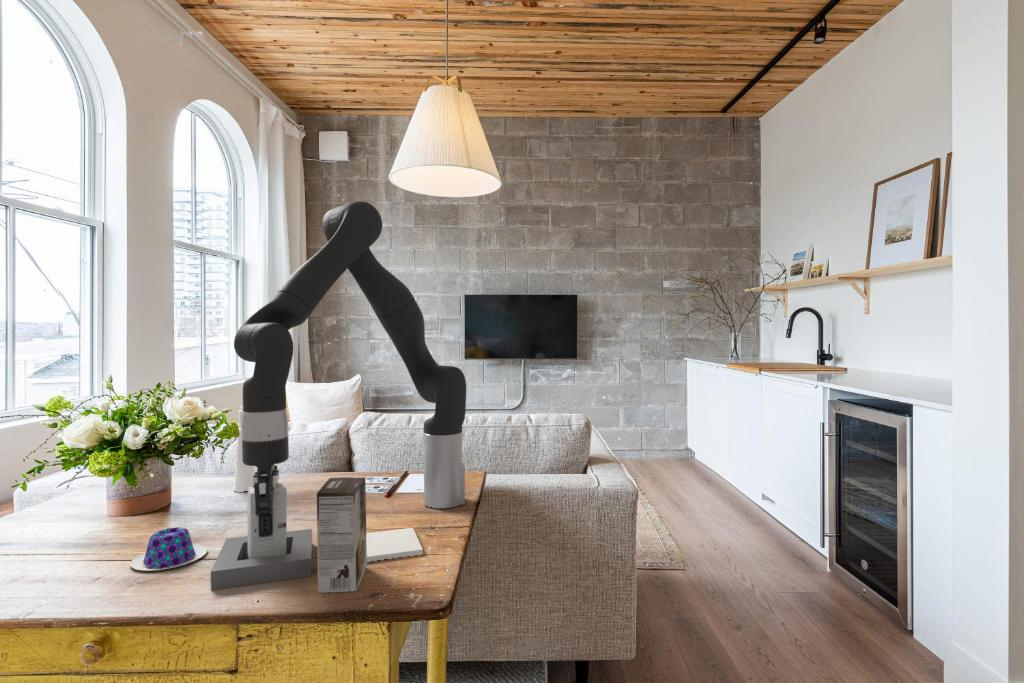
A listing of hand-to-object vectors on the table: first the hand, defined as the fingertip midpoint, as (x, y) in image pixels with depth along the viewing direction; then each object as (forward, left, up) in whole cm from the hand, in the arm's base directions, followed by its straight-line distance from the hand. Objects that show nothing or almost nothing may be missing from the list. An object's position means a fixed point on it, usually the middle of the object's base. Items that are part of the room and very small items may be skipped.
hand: (267, 530), depth 97 cm
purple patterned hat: (+17, -9, -7) cm, 21 cm away
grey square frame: (0, 0, -6) cm, 6 cm away
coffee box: (-12, +11, -6) cm, 18 cm away
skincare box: (0, 0, -5) cm, 5 cm away
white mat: (-21, -1, -6) cm, 22 cm away
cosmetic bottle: (+10, -54, -6) cm, 55 cm away
